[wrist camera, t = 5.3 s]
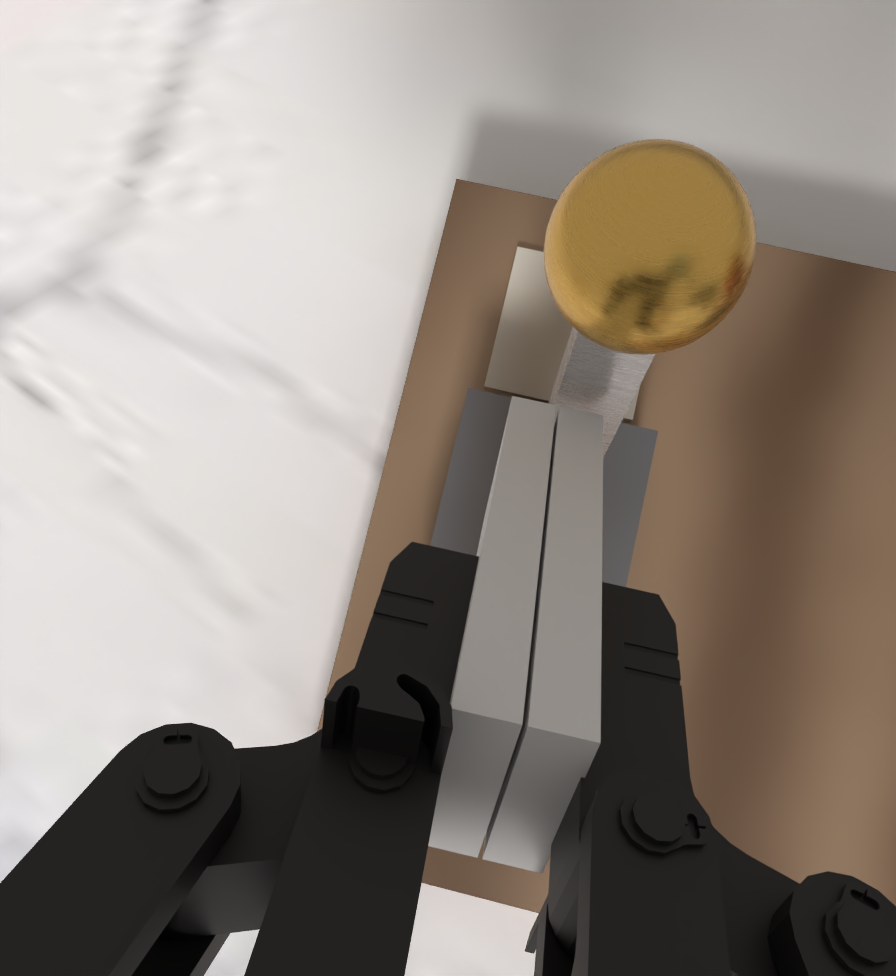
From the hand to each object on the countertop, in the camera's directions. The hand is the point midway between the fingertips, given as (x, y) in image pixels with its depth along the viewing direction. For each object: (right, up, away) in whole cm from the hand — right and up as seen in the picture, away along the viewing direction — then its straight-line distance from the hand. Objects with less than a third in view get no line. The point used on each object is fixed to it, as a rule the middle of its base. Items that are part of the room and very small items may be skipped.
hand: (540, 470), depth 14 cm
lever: (+1, -1, +6) cm, 6 cm away
